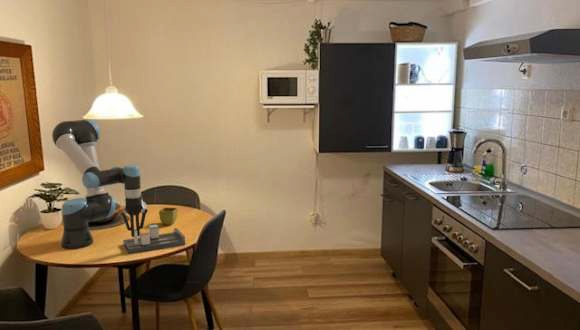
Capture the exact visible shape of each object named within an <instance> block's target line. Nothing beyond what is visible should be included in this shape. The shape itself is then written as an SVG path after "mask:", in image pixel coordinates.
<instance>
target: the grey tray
mask: <svg viewBox="0 0 580 330" xmlns="http://www.w3.org/2000/svg"><path fill="white" fill-rule="evenodd" d="M122 242H123V244H122V245H123V246H124V248H125V250H126V251H127V254H128V255H133V254H137V253H144V252H150V251H156V250H162V249H167V248H168V249H169V248H175V247H181V246H185V245H186V236H185V235H184V233H182V232H181V231H180V230H179V229H178V228H177V227H175V228H173V232H168V233H161V234H160V233H159V238H152V239H151V238H150V244H147V245H141V243H140V237H138V243H137V244H135V243H134V238H128V239H123V240H122Z"/></svg>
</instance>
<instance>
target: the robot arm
mask: <svg viewBox="0 0 580 330" xmlns="http://www.w3.org/2000/svg"><path fill="white" fill-rule="evenodd" d="M100 136H101V131H100V128H99V125H98V124H97V123H96V122H95V121H93V120H91V119H78V120H66V121H61V122H59V123H58V124H56V126H55V127H54V128H53V130H52V133H51V137H52V141H53V143H54V145H55V146H56V147H57V149H59V150H61V151H62V152H63V153H64V154H65V155H66V156H67V158H68V159H69V160H70V161H71V163H73V165H74V166H75V167H76V169H77V170H78V171H79V173H80V174H81V175H82V177H81V181H82V184H83V187H85V188H86V191H87V194H86V195H85V198H84V197H77V198H72V199H68V200H66V201H65V202H64V203H63V204H62V205H61V214H62V215H61V216H62V224H63V225H62V226H63V234H62V238H61V241H60V244H61V248H63V249H65V250H66V249H67V250H75V249H82V248H87V247H89V246H91V245H92V244H93V243H94V238H93V235H92V233H91V231H90V228H89V223H90V222H94V221H98V220H102V219H104V220H105V219H106V218H109V217H112V216H113V215H114V213H115V211H116V201H115V198H114V196H112V195H111V194H109V191H107V190H105V187H106V186H110V185H115V184H116V185H118V184H123V185H124V197H125V198H124V199H125V200H124V201H125V203H124V204H125V207H124V210H122V211H120V212H119V213H120V214H121V216H122V218H123V221H124V224H125V226H126V229H127V230H128V231H130V232H131V238H133V239H134V243H135V244H137V243H138V238H139V237H140V231H141V230H143V229H144V225H145V219H146V215H147V213H148V211H149V210H148V209H145V208H143V206H142V202H141V197H140V196H142V190H141V187H142V186H141V172H140V171H141V170H140V166H138V165H134V164H130V165H124V166H123V167H120V166H115V167H112V168H111V167H110V168H109V169H105V170H104V169H103V170H101V168H100V162H99V159H98V158H99V157H98V153H97V150H96V146H97V144H98V141H99V139H100ZM141 211H142V212H141ZM127 214H128V216H129V221H128V218H127V216H126V215H127ZM140 214H141V218H140ZM134 216H135V217H134ZM134 218H135V221H134ZM129 223H130V225H129ZM135 228H136V229H135Z"/></svg>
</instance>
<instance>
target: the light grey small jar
mask: <svg viewBox="0 0 580 330" xmlns="http://www.w3.org/2000/svg"><path fill="white" fill-rule="evenodd" d="M148 231H149V232H150V238H151V239H152V238H159V235H160V227H159V225H158V224H152V225H151V224H150V225H148Z"/></svg>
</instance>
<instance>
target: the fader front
mask: <svg viewBox="0 0 580 330" xmlns="http://www.w3.org/2000/svg"><path fill="white" fill-rule="evenodd" d="M139 238H140V243H141V245H147V244H150V232H149V229H148V230H140V236H139Z"/></svg>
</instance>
